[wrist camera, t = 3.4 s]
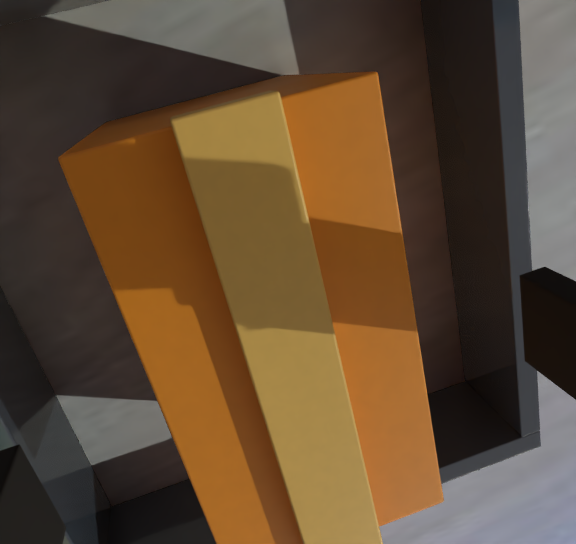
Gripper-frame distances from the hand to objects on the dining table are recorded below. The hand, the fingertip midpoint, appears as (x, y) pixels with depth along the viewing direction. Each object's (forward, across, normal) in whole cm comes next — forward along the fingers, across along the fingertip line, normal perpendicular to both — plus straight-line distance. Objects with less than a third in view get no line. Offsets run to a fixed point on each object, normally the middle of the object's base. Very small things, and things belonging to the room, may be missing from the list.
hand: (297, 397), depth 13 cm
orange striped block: (+11, 0, 0) cm, 11 cm away
